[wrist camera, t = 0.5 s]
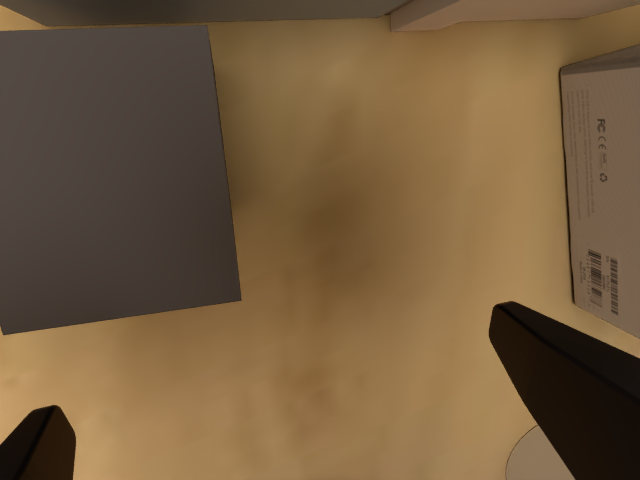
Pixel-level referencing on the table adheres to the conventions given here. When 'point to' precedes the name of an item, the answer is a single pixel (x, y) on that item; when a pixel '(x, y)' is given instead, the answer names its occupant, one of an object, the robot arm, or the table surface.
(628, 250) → the hard drive box
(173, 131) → the doorstop block
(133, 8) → the door
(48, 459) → the robot arm
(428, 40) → the table surface
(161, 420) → the table surface
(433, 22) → the wall frame
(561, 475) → the water bottle
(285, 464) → the table surface
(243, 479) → the table surface
